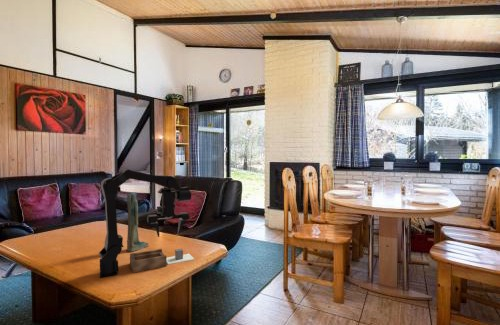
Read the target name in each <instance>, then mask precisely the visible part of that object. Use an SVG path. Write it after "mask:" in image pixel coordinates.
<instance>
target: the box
mask: <svg viewBox="0 0 500 325" xmlns="http://www.w3.org/2000/svg"><path fill="white" fill-rule="evenodd" d="M166 258H167V255H165V254H164V252H163V250H162V248H158V249H157V248H156V249H151V250H145V251H138V252H137V251H136V252H130V253H129V264H130V268H132V269H131V272H132V273H133V272H134V273H138V272H143V271H144V272H145V271H149V269H150V270H154V269H159V268H164V267H167V265H168V264H167V259H166Z"/></svg>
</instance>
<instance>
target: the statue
mask: <svg viewBox="0 0 500 325" xmlns="http://www.w3.org/2000/svg"><path fill="white" fill-rule="evenodd" d="M138 202H139V201H138V200H137V192H129V194H127V238H126V239H127V240H126V242H127V243H126V249H125V250H126V252H130V253H134V252H137V251H138V250H143V249H145V248H147V247H149V242H147V241H146V242H145V241H141V240H140V239H139V212H138V211H139V205H138V204H139V203H138Z"/></svg>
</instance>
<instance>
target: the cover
mask: <svg viewBox="0 0 500 325" xmlns="http://www.w3.org/2000/svg"><path fill="white" fill-rule="evenodd" d="M166 259H167V265H174V264H180V263H185V262H189V261H194V260H195V258H194V257H193V256H192V255H191V254H190V253H186V254H185V253H184V250H183V248H177V249H174V255H173V256H169V257H167V256H166Z"/></svg>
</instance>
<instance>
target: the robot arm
mask: <svg viewBox="0 0 500 325" xmlns="http://www.w3.org/2000/svg"><path fill="white" fill-rule="evenodd" d="M128 180H135V181H141V182H146V183H152V184H155V185H157V186H160V187H161V188H160V189H159V190H158V191H157V193H158V194H161V195H162V197H161V198H162V203H161V205H160V206H156V213H155V214H148V215H147V217H146V221H147V224H151V226H153V227H154V229H155V232H156V235H157V237H158V238H160V224H159V222H158V221H164V220H165V221H166V220H175V219H176V220H177V219H178V221H177V222H178V224H177V226H178V227H177V235H181V232H182V228H183V226H184V225H185V223H186V222H188V220H191V217H190V216H191V215H190V213H188V212H187V211H182V212H178V214H176V201H177V203H178V202H187V201H189V202H190V201H191V200H192V192H191V189H190V187H189V186H183V187H180V186H179V184H178V182H177V179H176V177H175V176H174V175H161V174H160V175H157V174H150V173H145V172H141V171H135V170H132V169H124V170H122V171H121V172H119V173H117V174H116V175H115V174H114V175H113V176H112V177H107V178H104V179H103V180H102V181H101V182H100V188H101V192H102V196H103V199H104V208H105V210H104V211H105V223H106V235H105V239H104V247H103V248H102V249H101V250H100V251H99V252H98V255H99V257H100V259H99V278H104V277H110V276H116V275H118V272H119V260H118V256H119V255H120V254H121V252H122V250H123V248H124V244H123V240H124V239H123V236H121V234H119V233H118V219H117V216H118V215H117V204H116V201H117V196H118V191H119V187H120V186H121V185H123V184H124V183H127V181H128ZM164 188H166V189H164ZM157 214H160V215H157Z"/></svg>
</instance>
